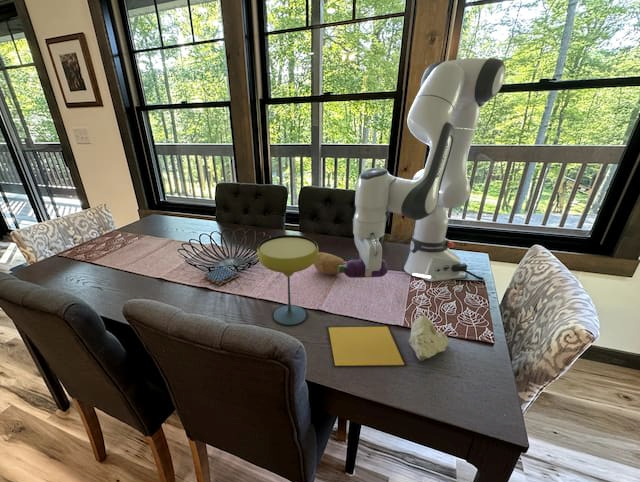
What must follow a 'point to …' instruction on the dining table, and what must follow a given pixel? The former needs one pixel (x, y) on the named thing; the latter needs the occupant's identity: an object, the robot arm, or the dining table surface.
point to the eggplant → (361, 269)
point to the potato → (328, 263)
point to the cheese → (426, 339)
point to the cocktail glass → (288, 267)
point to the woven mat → (221, 275)
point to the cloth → (363, 346)
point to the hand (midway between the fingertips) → (365, 270)
